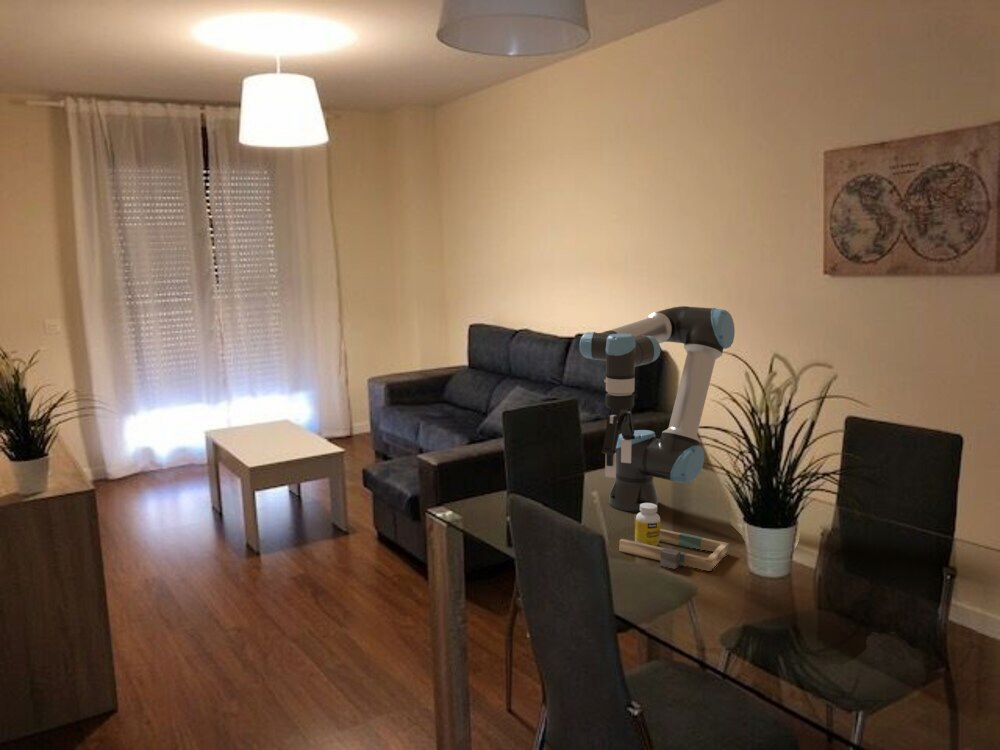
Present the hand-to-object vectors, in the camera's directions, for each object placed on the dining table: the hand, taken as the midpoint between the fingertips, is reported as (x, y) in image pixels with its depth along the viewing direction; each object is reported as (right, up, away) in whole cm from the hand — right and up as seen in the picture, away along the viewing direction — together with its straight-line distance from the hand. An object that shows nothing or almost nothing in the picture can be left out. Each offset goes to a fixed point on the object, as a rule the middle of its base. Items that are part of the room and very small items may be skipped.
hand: (618, 469), depth 220 cm
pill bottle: (+8, -21, +1) cm, 23 cm away
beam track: (+13, -22, -4) cm, 26 cm away
